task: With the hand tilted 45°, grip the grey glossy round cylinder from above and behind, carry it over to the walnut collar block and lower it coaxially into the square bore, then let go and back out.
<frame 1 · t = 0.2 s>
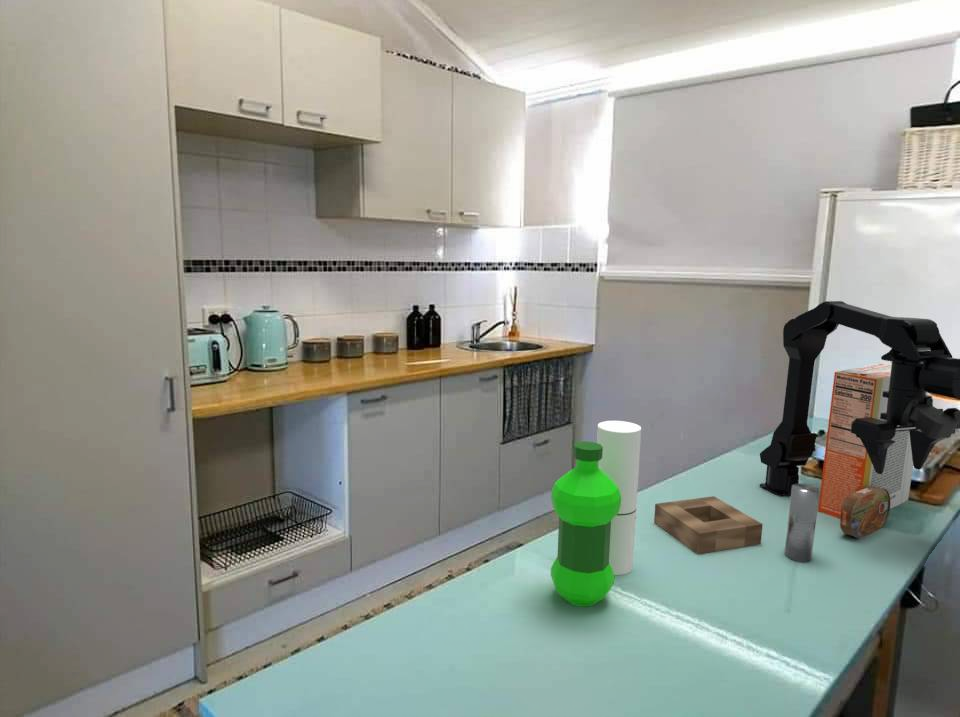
hand: (898, 471, 121), 14 cm above the table, tool pointing down, fingers open, 9 cm apart
tin: (862, 531, 130), on the table
plastic bottle: (581, 598, 104), on the table
pasta box: (863, 506, 142), on the table
grey glossy round cylinder: (798, 556, 118), on the table
collar block: (705, 532, 127), on the table
cylindrical container: (611, 566, 114), on the table
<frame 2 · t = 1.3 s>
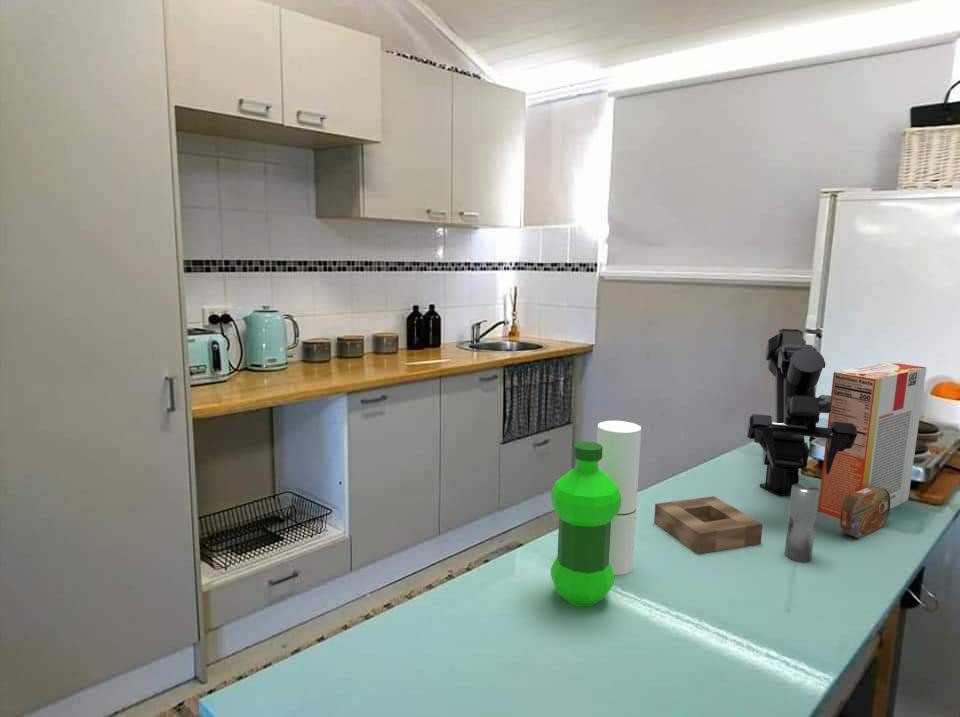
hand: (800, 470, 124), 13 cm above the table, tool tilted 45°, fingers open, 9 cm apart
nothing on the table moved.
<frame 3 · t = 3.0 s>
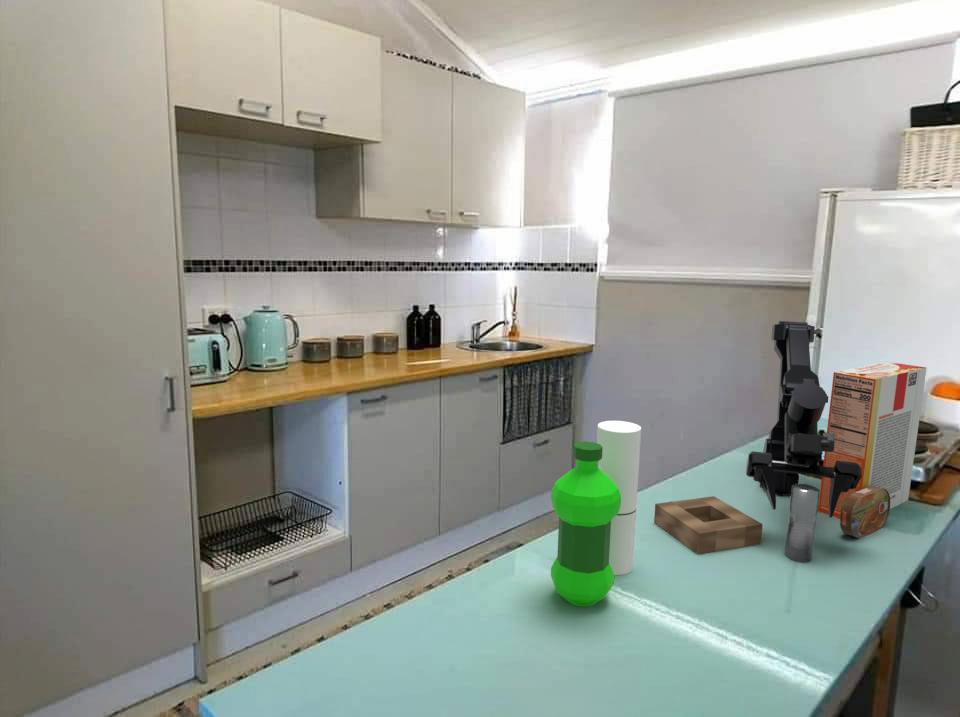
hand: (802, 512, 117), 8 cm above the table, tool tilted 45°, fingers open, 9 cm apart
nothing on the table moved.
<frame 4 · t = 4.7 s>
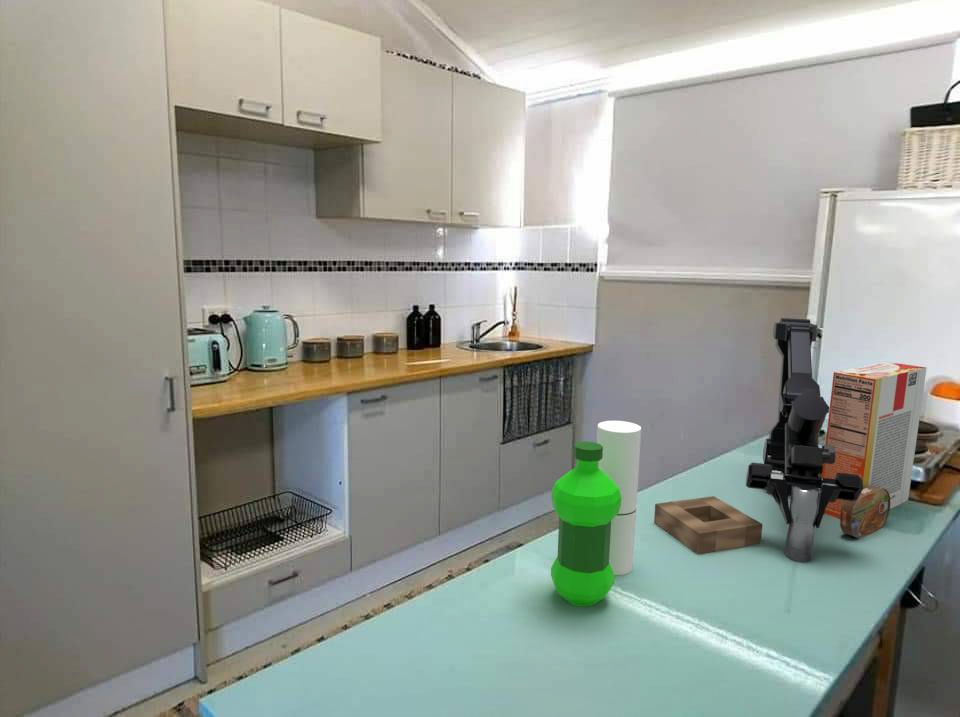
hand: (802, 525, 116), 7 cm above the table, tool tilted 45°, fingers closed on grey glossy round cylinder, 4 cm apart
grey glossy round cylinder: (798, 556, 118), on the table, touching gripper
everything else where it was.
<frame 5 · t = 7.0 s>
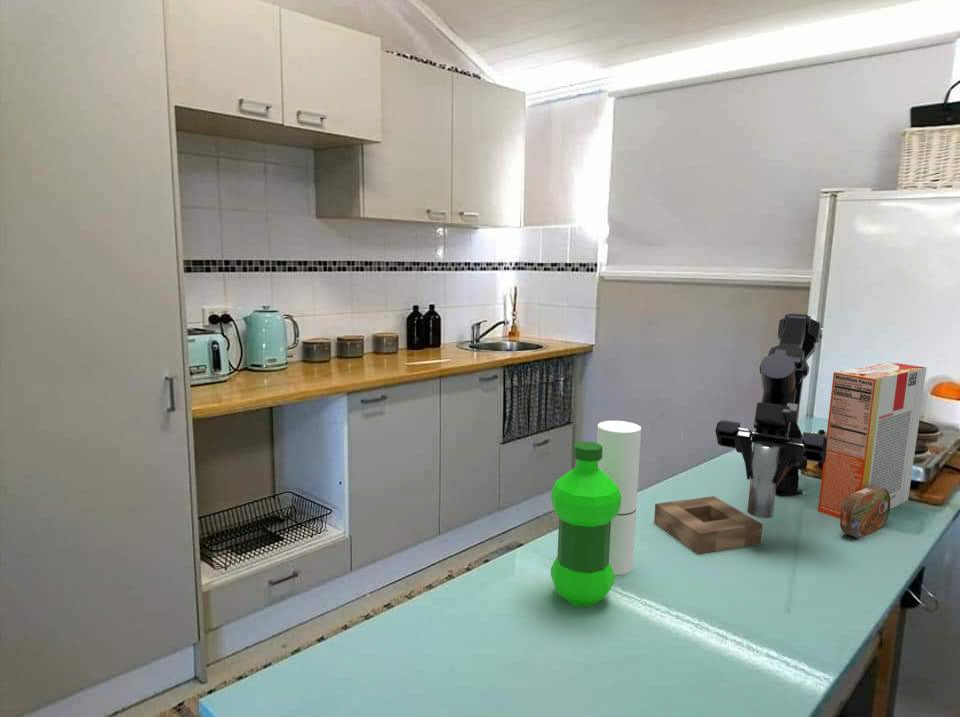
hand: (762, 481, 118), 13 cm above the table, tool tilted 45°, fingers closed on grey glossy round cylinder, 4 cm apart
grey glossy round cylinder: (760, 513, 120), point 7 cm above the table, touching gripper
everything else where it was.
when the fingers open (9 cm above the table, at t = 9.6 s): grey glossy round cylinder drops 2 cm, resting in collar block.
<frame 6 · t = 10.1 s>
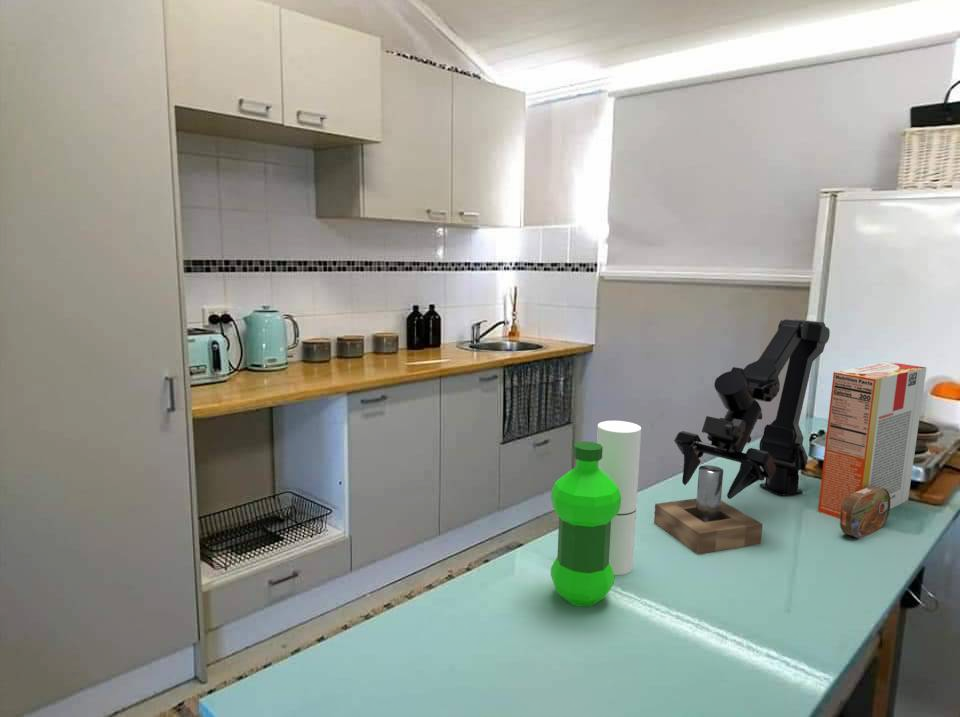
hand: (705, 490, 125), 9 cm above the table, tool tilted 45°, fingers open, 9 cm apart
grey glossy round cylinder: (705, 533, 127), resting in collar block
everything else where it was.
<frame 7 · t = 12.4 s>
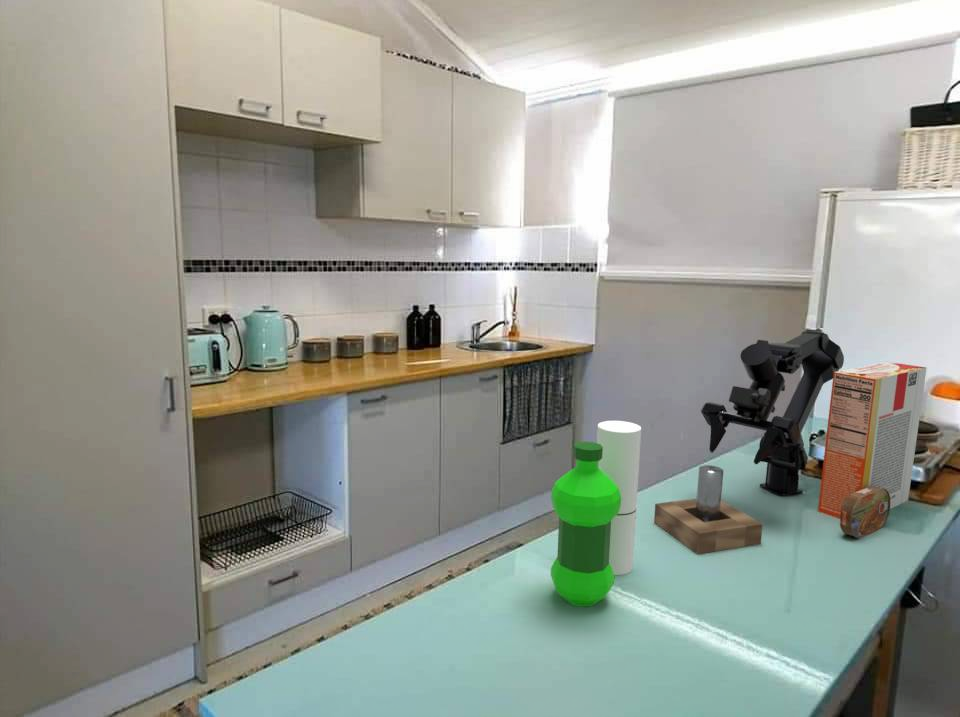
hand: (732, 457, 131), 14 cm above the table, tool tilted 45°, fingers open, 9 cm apart
nothing on the table moved.
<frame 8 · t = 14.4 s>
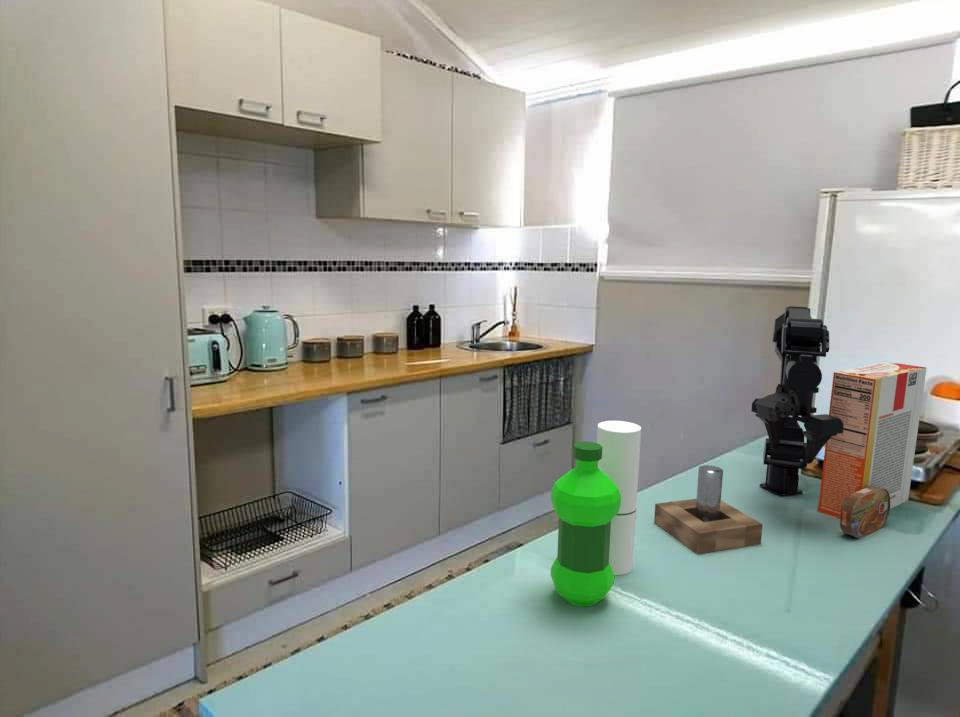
hand: (790, 456, 133), 13 cm above the table, tool pointing down, fingers open, 9 cm apart
nothing on the table moved.
at the end: grey glossy round cylinder 0.0 cm off-centre on the collar block, point 0.0 cm above the collar block's base; grey glossy round cylinder tilted 0°; the gripper is holding nothing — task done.
